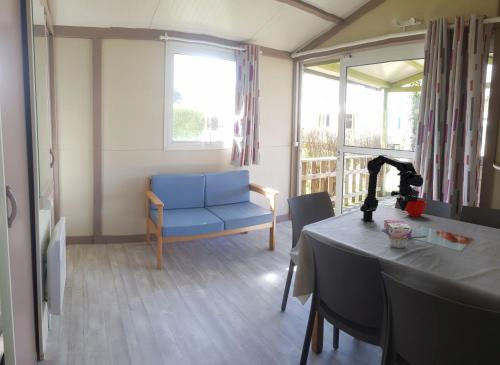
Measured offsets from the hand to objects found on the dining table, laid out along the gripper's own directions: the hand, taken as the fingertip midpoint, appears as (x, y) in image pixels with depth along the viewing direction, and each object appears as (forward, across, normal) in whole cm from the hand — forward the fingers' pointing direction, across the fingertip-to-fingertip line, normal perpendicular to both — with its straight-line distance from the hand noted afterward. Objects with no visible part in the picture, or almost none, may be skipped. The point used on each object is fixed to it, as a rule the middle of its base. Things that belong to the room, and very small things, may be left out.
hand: (402, 210), depth 225 cm
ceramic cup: (+13, +34, -29) cm, 47 cm away
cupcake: (+13, -23, +17) cm, 31 cm away
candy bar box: (+10, +7, +1) cm, 12 cm away
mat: (+13, -3, +1) cm, 13 cm away
